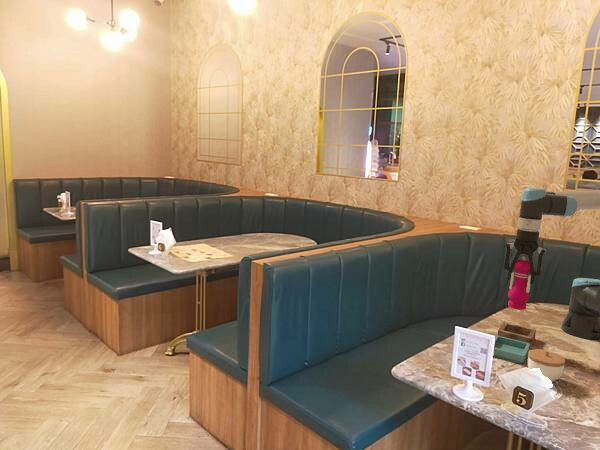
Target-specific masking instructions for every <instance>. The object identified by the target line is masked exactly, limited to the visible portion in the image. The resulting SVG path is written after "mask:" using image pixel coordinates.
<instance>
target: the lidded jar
mask: <svg viewBox="0 0 600 450" xmlns="http://www.w3.org/2000/svg"><path fill="white" fill-rule="evenodd" d="M565 365H566V359H565V358H564V357H563V356H561V354H558V353H556V352H553V351H550V350H546V349H545V350H544V349H540V348H539V349H538V348H536V349H530V350H529V352H528V355H527V368H528V369H529V368H530V369H532V368H540V370H541V372H542V374H543V375H544V376H546V377H548V378H549V379H550V380H551V381H552V383H554V382H555V381H557V380H559V379H560V377H561V376H562V374H563V371H564V369H565V368H564V367H565Z"/></svg>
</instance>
